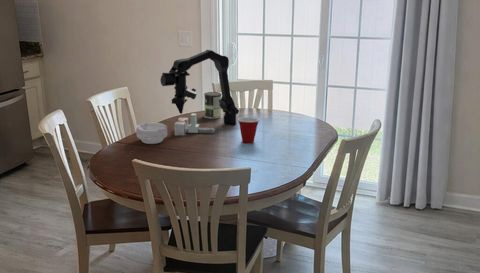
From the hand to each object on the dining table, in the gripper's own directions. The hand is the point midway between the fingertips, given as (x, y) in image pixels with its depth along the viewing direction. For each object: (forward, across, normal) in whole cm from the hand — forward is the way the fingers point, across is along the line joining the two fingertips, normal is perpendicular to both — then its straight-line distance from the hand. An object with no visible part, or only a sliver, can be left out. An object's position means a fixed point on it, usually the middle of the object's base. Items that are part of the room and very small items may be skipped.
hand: (181, 113), depth 261 cm
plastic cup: (+10, -14, -37) cm, 41 cm away
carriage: (+10, 0, -7) cm, 12 cm away
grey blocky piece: (+10, 0, 0) cm, 10 cm away
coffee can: (+10, +35, -13) cm, 39 cm away
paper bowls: (+10, -19, +11) cm, 24 cm away
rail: (+10, 0, -10) cm, 15 cm away
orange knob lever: (+9, 0, 0) cm, 9 cm away
